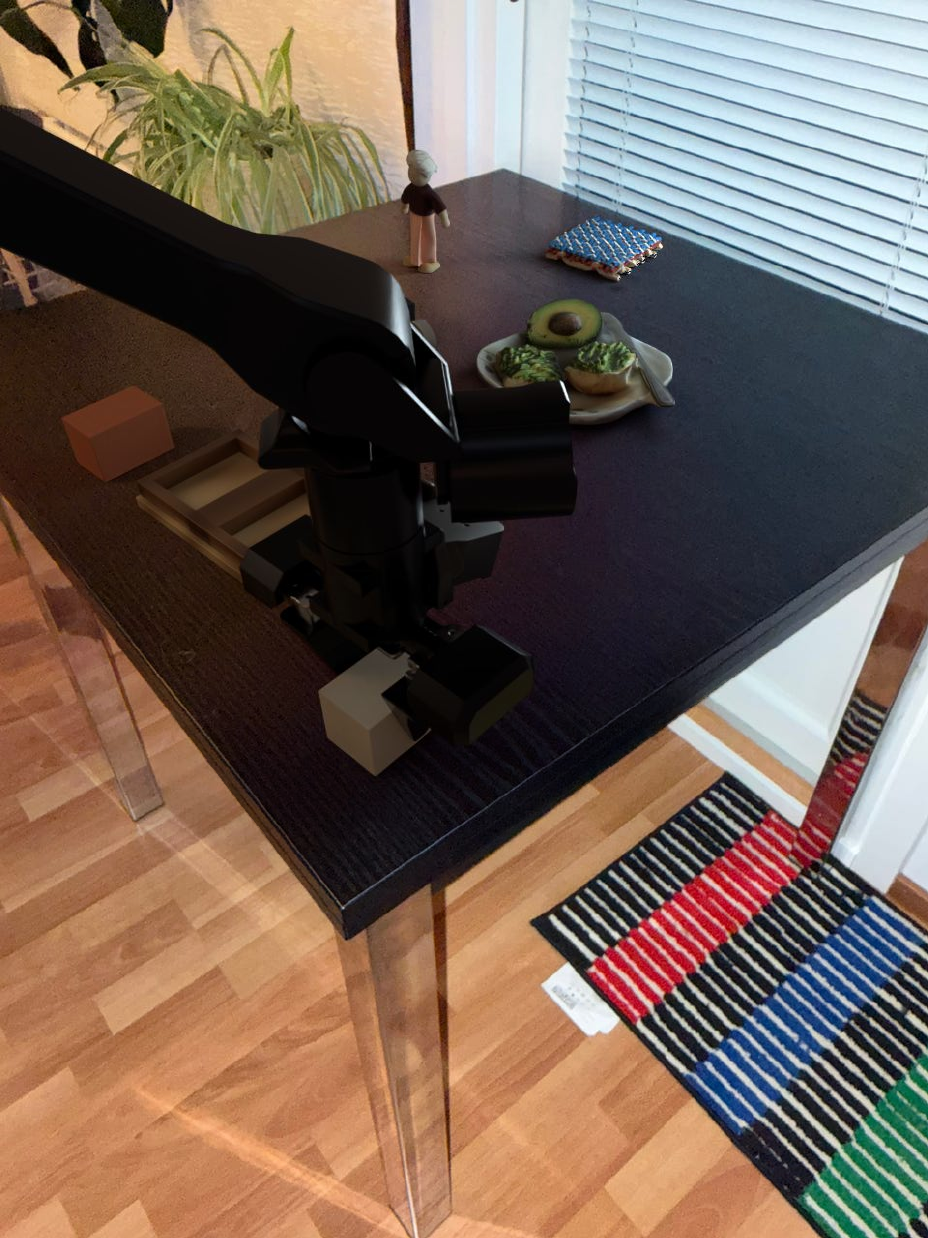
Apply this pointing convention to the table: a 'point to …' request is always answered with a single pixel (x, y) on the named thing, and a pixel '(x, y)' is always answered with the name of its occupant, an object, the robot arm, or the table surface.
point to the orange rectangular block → (118, 433)
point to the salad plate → (580, 362)
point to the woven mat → (604, 247)
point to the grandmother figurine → (422, 211)
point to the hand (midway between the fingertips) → (390, 714)
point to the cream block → (366, 712)
